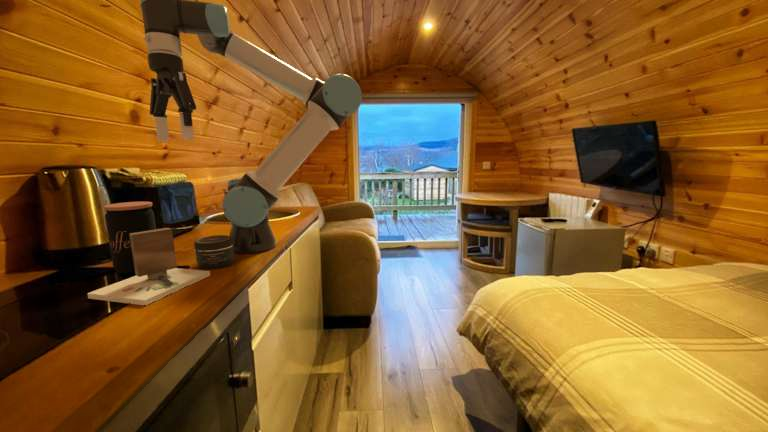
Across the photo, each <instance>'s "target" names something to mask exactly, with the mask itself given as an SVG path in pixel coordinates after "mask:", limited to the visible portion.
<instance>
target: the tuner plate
mask: <svg viewBox="0 0 768 432" xmlns="http://www.w3.org/2000/svg"><path fill="white" fill-rule="evenodd" d="M210 276H211V271H210V270H203V269H202V270H201V269H190V268H178V267H177V268H174V269H170V270H167V276H166V277H165V278H167V279H168V280H170V281H172V282H173V284H172V285H168V284H166V283H165V282H163V281H161V280H160V279H156V280H149V279H148V277H147V275H145V276H141V277H138V276H137V275H136V274H135V275H134V276H131V277H129V278H126V279H122V280H121V281H117V282H115V283H112V284H110V285H106V286H104V287H100V288H98V289H95V290H92V291H90V292H88V293H87V299H91V300H99V301H106V302H113V303H115V302H116V303H122V304H129V303H130V304H131V305H138V306H144V305H146V306H148V304H149V305H150V303H151V304H153V303H155V302H157V301H159V300H161V299H163V297H164V298H165V296H166V297H167V295H168V296H170V295H172V294H175V293H176V292H178V291H180V289H181V290H183V289H185V288H187V287H189V286H191V285H194V284H195V283H197V282H199V281H201V280H204V279H206V278H208V277H210ZM188 285H189V286H188ZM186 286H187V287H186ZM184 287H185V288H184ZM182 288H183V289H182ZM171 293H172V294H171ZM169 294H170V295H169ZM154 301H155V302H154ZM152 302H153V303H152Z"/></svg>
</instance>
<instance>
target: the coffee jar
mask: <svg viewBox="0 0 768 432" xmlns="http://www.w3.org/2000/svg"><path fill="white" fill-rule="evenodd" d="M152 207H153V202H152V201H128V202H117V203H110V204H104V205H103V211H105V212H106V213H105V214H104V220H105V225H106V232H107V239H108V243H109V249H110V257H111V261H112V267H113V269H114V270H115V271H116V272H117V273H120V274H134V273H135V267H134V261H133V254H132V248H131V241H130V235H129V234H130V233H137V232H143V231H150V230H156V229H157V227H156V225H157V224H156V220H155V219H156V218H155V211H154V210H153V209H152Z"/></svg>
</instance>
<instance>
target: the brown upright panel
mask: <svg viewBox="0 0 768 432" xmlns="http://www.w3.org/2000/svg"><path fill="white" fill-rule="evenodd" d="M129 235H130V241H131V248H132V254H133V261H134V267H135V272H134V273H135V276H136V275H137V276H138V277H141V276H145V275H147V277H148V279H149V280H156V279H160V280H161V281H163V282H165V283H166V284H168V285H172V284H173V282H172V281H170V280H168V279H167V278H165V277H166V276H167V270H170V269H174V268H178V266H177V265H178V264H177V259H176V256H177V255H176V252H175V251H176V250H175V242H174V235H173V228H170V227H164V228H156V230H150V231H143V232H137V233H130V234H129Z"/></svg>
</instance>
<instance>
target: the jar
mask: <svg viewBox="0 0 768 432" xmlns="http://www.w3.org/2000/svg"><path fill="white" fill-rule="evenodd" d="M193 246H194V247H193V249H194V252H195V253H194V254H195V261H196V262H195V263H196V264H197V266H198V267H199V268H200V270H201V269H202V270H205V271H210V270H217V269H222V268H226V267H228V266H231V265H232V264H233V263H234V260H235V253H234V243H233V238H232V237H231V236H229V235H228V234H217V235H209V236H204V237H200V238H197V239H195V240H194V241H193Z"/></svg>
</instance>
